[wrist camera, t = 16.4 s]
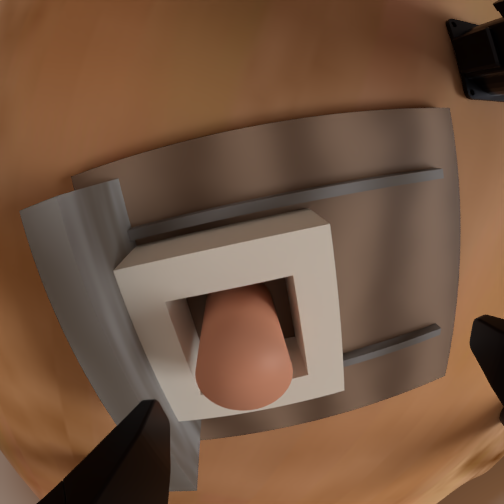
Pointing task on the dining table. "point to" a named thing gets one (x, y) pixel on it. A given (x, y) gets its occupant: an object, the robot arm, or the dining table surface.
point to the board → (347, 273)
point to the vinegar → (502, 417)
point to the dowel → (242, 350)
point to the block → (232, 276)
